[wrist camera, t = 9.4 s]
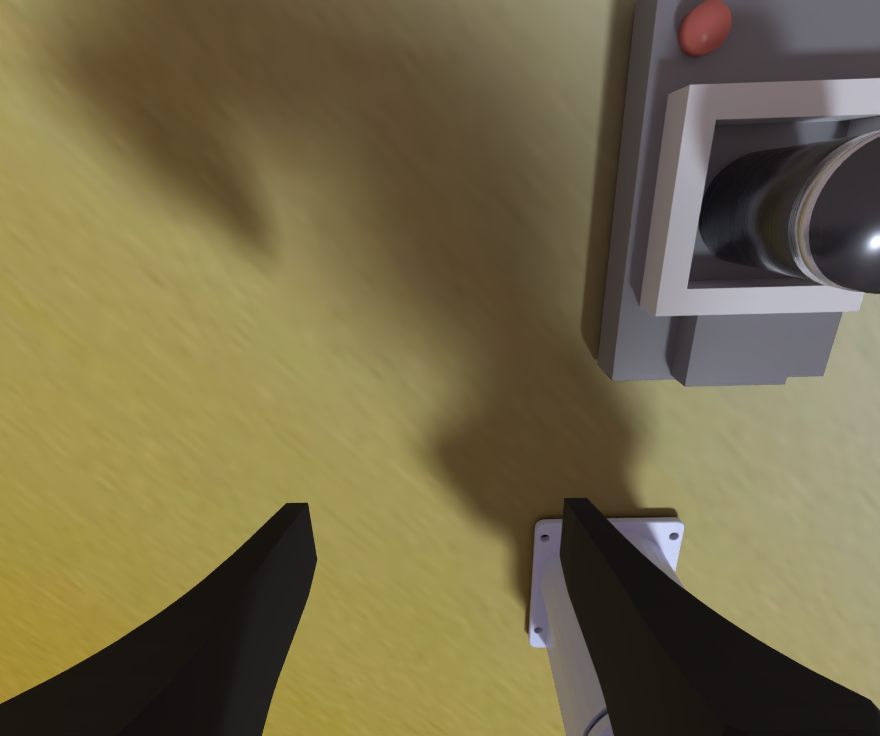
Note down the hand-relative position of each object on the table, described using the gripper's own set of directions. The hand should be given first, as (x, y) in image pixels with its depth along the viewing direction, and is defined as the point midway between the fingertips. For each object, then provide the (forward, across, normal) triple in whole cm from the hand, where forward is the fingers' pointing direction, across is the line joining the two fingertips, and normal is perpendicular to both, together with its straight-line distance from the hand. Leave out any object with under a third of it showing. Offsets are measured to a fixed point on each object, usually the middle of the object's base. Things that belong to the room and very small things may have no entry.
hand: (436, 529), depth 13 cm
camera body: (+10, -12, -8) cm, 17 cm away
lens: (+8, -12, -8) cm, 16 cm away
